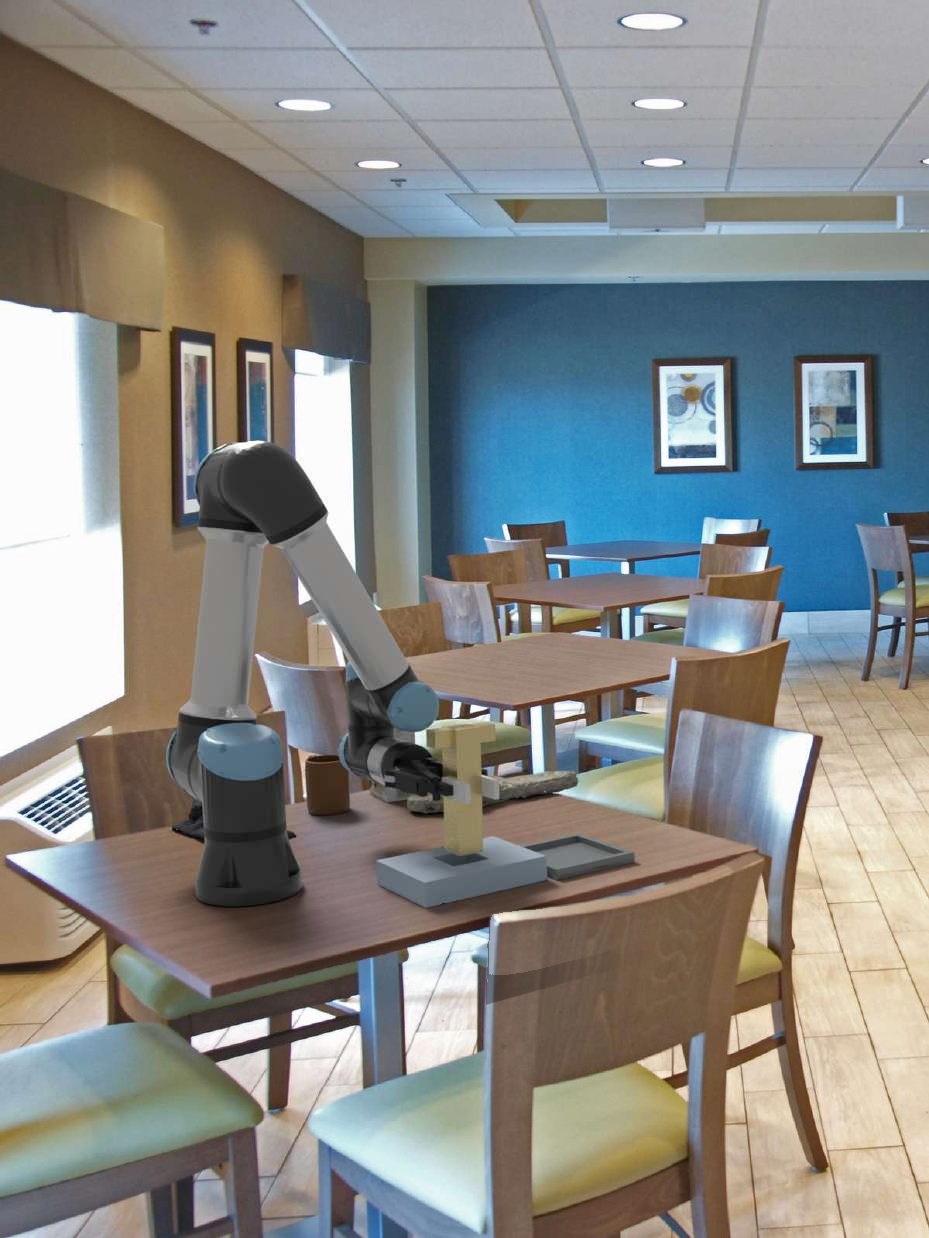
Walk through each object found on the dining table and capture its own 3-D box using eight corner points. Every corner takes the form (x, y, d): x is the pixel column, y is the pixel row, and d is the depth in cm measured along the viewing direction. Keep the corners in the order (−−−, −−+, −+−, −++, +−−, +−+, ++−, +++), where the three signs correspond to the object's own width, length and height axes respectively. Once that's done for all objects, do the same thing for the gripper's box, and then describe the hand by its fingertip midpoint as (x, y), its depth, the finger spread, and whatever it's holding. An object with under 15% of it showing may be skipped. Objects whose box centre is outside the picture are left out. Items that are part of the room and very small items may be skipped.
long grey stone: (591, 797, 251) (560, 790, 259) (591, 768, 251) (559, 762, 259) (424, 818, 233) (396, 810, 242) (423, 787, 233) (396, 780, 241)
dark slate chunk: (216, 856, 218) (214, 827, 217) (166, 830, 236) (165, 803, 236) (303, 839, 226) (301, 811, 226) (249, 814, 245) (247, 788, 244)
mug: (292, 805, 248) (289, 754, 247) (330, 798, 252) (328, 748, 251) (317, 818, 238) (313, 765, 237) (357, 811, 241) (354, 759, 240)
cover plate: (425, 907, 186) (424, 882, 185) (377, 883, 198) (376, 860, 197) (547, 879, 196) (546, 855, 196) (494, 858, 208) (493, 836, 208)
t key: (440, 859, 192) (437, 732, 191) (426, 853, 196) (423, 728, 194) (500, 848, 198) (498, 724, 196) (486, 842, 201) (483, 721, 199)
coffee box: (368, 793, 255) (363, 707, 253) (400, 788, 258) (395, 703, 256) (386, 803, 247) (381, 714, 245) (419, 798, 249) (414, 710, 248)
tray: (557, 879, 196) (556, 869, 196) (503, 858, 208) (503, 849, 207) (634, 861, 203) (634, 852, 203) (578, 842, 215) (578, 833, 215)
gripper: (450, 782, 216) (533, 809, 196) (352, 797, 207) (430, 827, 187) (448, 735, 215) (532, 758, 195) (351, 747, 206) (428, 773, 186)
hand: (482, 791), depth 191 cm, fingers closed on t key, 4 cm apart
